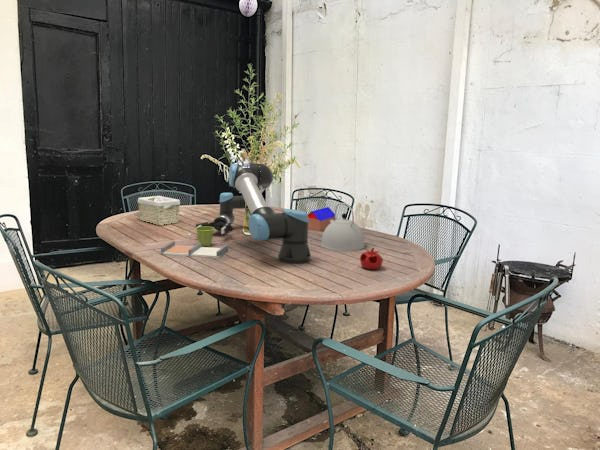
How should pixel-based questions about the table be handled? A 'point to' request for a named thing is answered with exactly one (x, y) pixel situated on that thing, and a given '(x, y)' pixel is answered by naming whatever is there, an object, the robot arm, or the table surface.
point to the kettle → (343, 234)
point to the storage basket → (159, 209)
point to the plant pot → (205, 235)
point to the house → (320, 219)
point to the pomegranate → (371, 260)
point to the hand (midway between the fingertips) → (209, 230)
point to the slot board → (193, 250)
